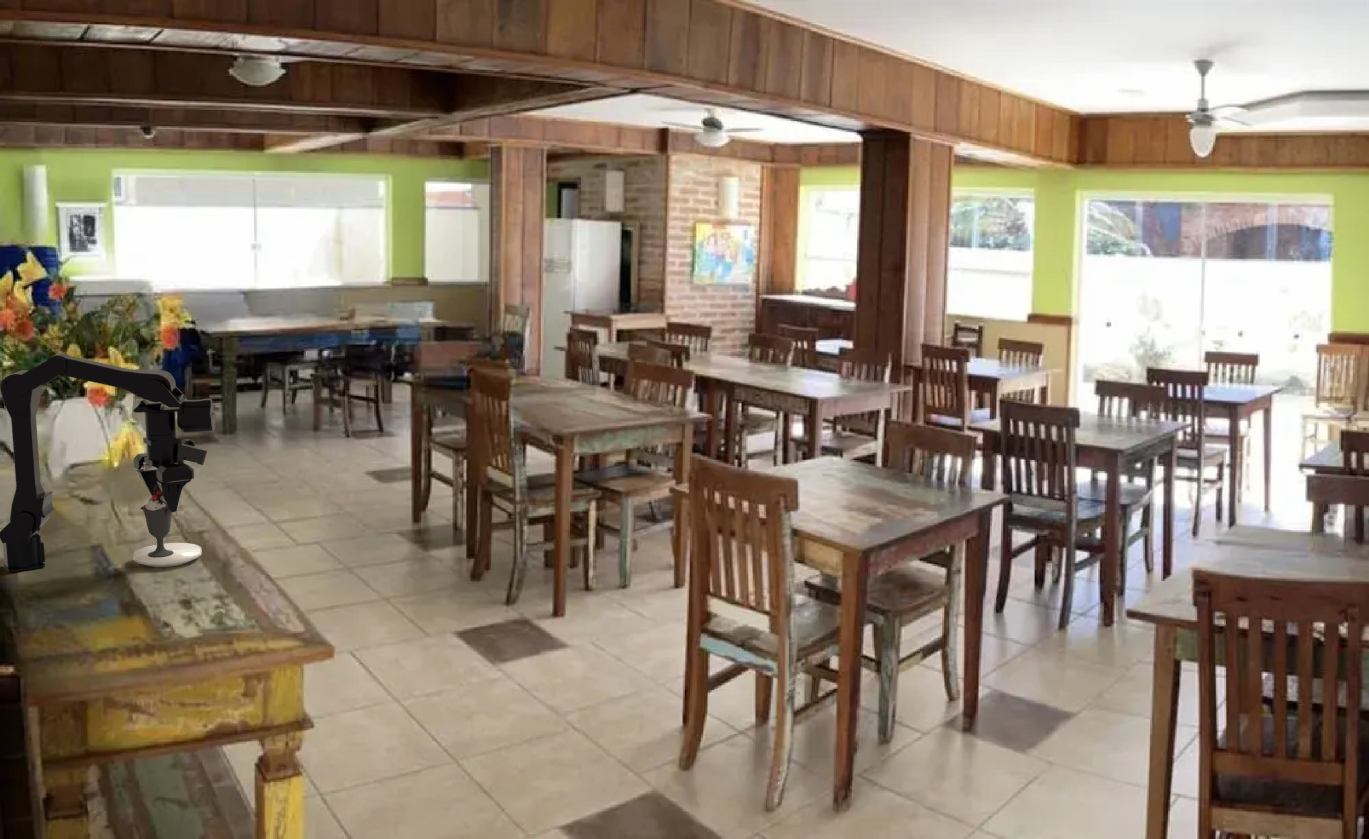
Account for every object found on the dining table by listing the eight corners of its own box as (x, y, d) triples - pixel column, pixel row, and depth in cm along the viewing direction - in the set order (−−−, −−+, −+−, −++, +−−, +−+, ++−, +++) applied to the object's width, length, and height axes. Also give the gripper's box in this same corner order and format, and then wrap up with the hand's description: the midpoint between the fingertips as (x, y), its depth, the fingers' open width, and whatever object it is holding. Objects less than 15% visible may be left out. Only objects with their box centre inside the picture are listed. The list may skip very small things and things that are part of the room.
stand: (145, 573, 239) (145, 564, 239) (125, 559, 249) (124, 549, 248) (211, 562, 247) (210, 553, 247) (188, 548, 257) (188, 539, 257)
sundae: (153, 560, 241) (149, 488, 238) (137, 554, 245) (132, 483, 243) (184, 553, 246) (180, 482, 243) (168, 547, 250) (164, 477, 248)
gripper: (217, 435, 242) (221, 510, 244) (185, 422, 256) (189, 493, 258) (160, 441, 235) (165, 518, 237) (130, 428, 248) (135, 501, 251)
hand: (165, 507), depth 246 cm, fingers open, 9 cm apart
